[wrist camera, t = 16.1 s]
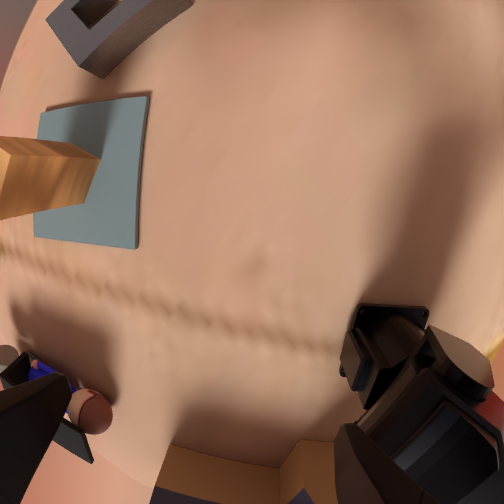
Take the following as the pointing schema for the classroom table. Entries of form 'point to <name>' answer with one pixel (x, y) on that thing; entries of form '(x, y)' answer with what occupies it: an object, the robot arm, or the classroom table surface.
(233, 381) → the classroom table surface
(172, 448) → the toy building blocks
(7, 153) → the peg
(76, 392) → the figurine character
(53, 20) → the socket block
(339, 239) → the classroom table surface
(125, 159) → the pad
